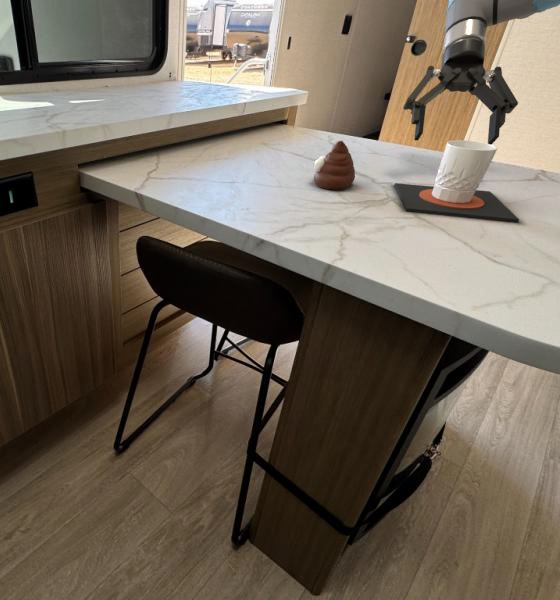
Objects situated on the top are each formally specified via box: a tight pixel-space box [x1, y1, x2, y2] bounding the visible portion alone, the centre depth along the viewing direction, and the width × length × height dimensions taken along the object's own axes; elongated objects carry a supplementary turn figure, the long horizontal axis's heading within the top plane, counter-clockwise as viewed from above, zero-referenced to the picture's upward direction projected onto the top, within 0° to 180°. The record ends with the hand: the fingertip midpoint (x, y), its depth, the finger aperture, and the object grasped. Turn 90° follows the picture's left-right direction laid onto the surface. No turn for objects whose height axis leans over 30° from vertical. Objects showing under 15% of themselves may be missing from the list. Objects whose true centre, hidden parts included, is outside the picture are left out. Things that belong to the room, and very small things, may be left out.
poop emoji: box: [313, 140, 356, 191], centre depth 89 cm, size 10×8×9 cm
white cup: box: [432, 139, 498, 203], centre depth 79 cm, size 8×8×10 cm
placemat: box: [393, 182, 520, 223], centre depth 82 cm, size 18×16×1 cm
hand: (455, 138), depth 86 cm, fingers open, 13 cm apart
